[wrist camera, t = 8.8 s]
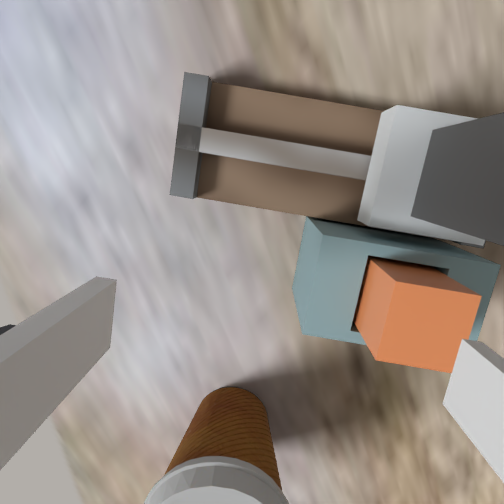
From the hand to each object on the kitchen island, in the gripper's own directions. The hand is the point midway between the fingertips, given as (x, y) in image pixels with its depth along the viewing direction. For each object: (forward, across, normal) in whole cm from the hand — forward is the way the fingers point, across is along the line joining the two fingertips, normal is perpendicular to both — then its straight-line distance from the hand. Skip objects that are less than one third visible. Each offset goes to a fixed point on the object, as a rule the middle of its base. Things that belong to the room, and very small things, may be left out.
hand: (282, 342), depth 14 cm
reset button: (+11, +7, 0) cm, 13 cm away
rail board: (+17, +3, +8) cm, 19 cm away
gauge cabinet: (+17, +7, 0) cm, 18 cm away
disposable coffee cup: (+17, -1, -16) cm, 23 cm away
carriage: (+13, +8, +7) cm, 17 cm away
